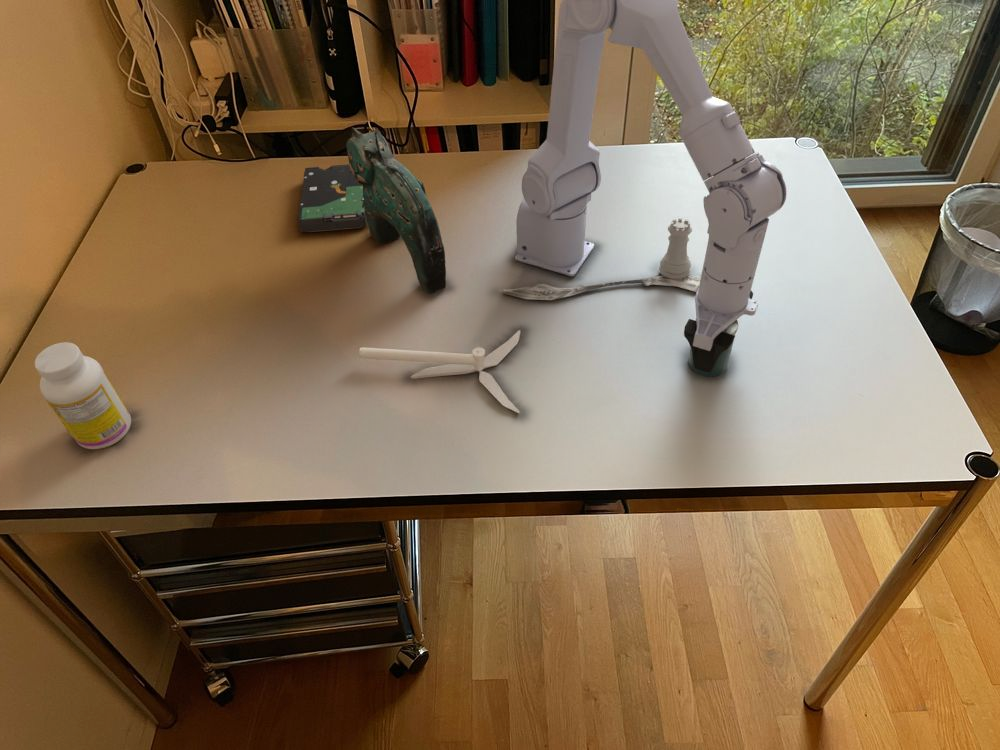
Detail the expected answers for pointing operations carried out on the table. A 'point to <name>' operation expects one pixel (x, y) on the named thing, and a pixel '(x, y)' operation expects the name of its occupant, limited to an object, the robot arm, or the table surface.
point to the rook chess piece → (677, 251)
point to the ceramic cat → (397, 206)
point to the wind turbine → (453, 363)
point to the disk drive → (331, 200)
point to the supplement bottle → (82, 396)
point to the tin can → (722, 359)
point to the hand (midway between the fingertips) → (710, 352)
